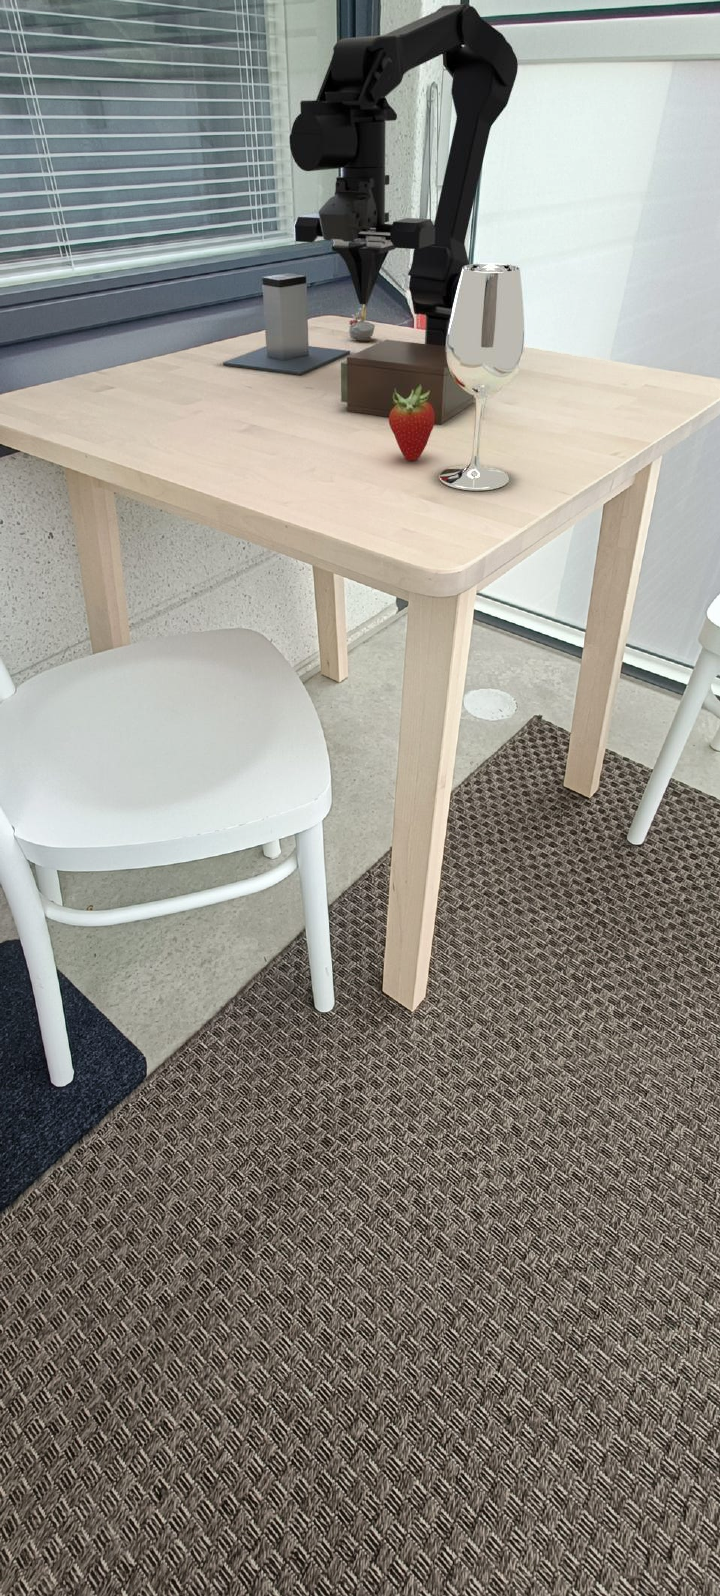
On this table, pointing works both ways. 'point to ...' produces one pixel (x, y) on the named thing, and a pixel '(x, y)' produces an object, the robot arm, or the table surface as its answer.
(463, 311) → the wineglass
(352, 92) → the robot arm
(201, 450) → the table surface
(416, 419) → the fruit
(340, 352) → the mat
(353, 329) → the figurine
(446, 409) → the cabinet
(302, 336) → the grey canister
